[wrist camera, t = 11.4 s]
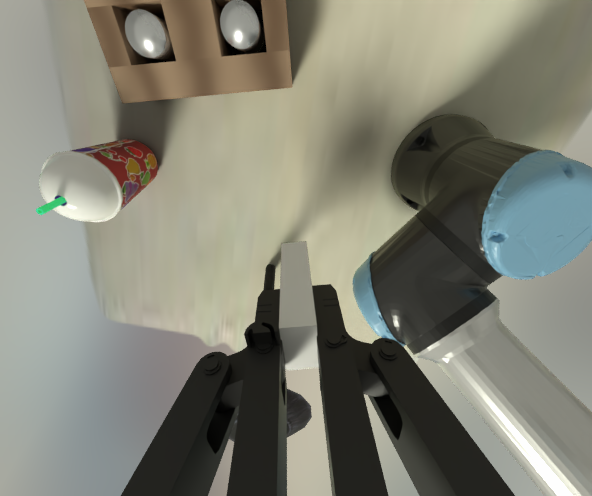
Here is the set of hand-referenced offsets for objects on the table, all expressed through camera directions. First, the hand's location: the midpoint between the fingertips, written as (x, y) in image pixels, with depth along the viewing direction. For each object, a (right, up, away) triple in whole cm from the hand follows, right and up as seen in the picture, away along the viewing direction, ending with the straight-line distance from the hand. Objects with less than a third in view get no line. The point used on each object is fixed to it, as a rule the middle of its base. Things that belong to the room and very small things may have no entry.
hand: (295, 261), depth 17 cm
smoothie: (-25, +15, +26) cm, 39 cm away
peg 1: (-16, +27, +18) cm, 37 cm away
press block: (-11, +28, +18) cm, 35 cm away
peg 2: (-6, +28, +18) cm, 34 cm away
